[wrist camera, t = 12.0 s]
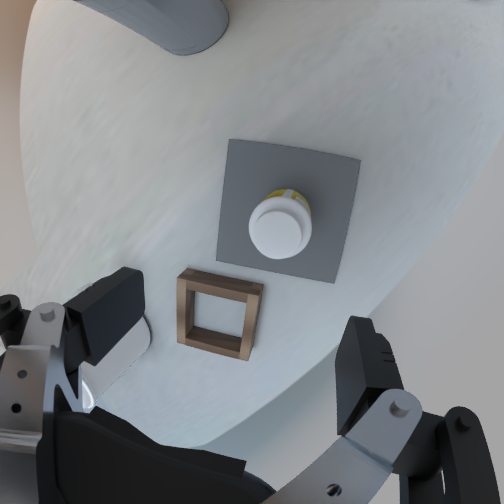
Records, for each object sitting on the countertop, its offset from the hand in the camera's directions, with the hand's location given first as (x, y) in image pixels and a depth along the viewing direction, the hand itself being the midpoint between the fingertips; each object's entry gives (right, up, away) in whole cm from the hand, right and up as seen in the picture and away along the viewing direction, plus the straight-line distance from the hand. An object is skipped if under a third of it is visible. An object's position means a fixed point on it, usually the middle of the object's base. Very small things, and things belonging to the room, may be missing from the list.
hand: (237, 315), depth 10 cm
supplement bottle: (+4, +7, +20) cm, 21 cm away
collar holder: (-4, -5, +26) cm, 26 cm away
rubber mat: (+4, +7, +20) cm, 22 cm away
